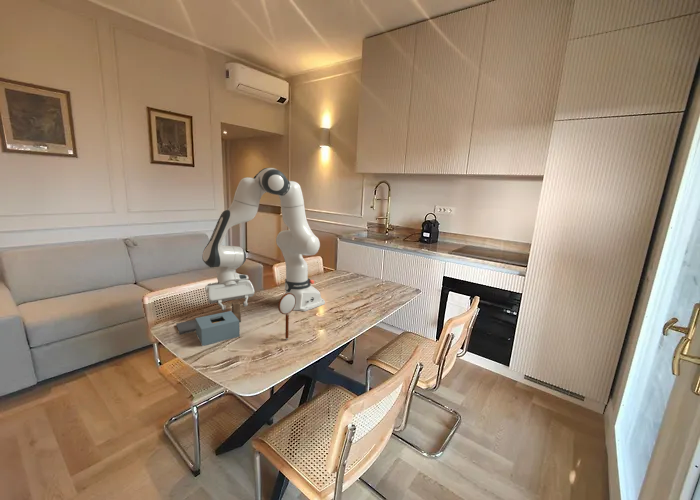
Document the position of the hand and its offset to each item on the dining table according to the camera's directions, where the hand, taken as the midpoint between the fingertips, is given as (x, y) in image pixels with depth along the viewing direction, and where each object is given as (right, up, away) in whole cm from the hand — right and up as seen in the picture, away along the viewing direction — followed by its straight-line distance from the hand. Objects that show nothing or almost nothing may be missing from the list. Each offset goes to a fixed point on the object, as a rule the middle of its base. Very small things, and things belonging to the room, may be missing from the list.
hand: (235, 307), depth 132 cm
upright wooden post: (0, -6, +1) cm, 6 cm away
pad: (-17, -7, -7) cm, 19 cm away
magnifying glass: (+26, -11, -12) cm, 31 cm away
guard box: (-3, -9, -12) cm, 15 cm away
